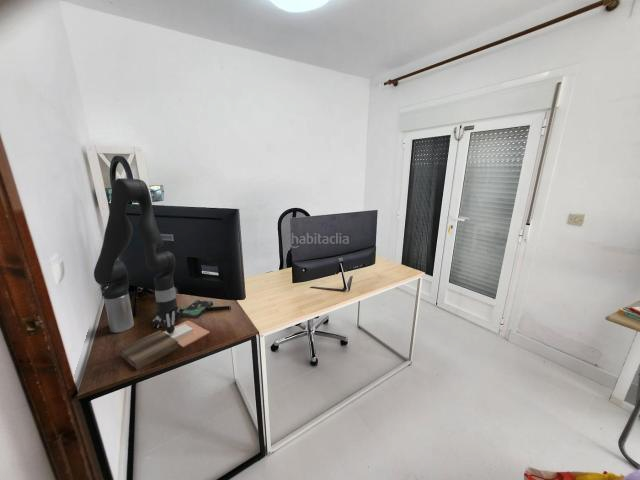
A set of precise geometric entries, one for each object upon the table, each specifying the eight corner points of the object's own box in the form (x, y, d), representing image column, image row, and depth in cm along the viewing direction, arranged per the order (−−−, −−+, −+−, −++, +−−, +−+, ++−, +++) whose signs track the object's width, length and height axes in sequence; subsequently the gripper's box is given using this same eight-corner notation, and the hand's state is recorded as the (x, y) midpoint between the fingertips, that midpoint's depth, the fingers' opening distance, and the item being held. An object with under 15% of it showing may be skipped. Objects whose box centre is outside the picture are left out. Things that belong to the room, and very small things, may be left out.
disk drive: (196, 304, 149) (180, 317, 135) (196, 299, 148) (179, 312, 134) (213, 305, 148) (198, 319, 133) (213, 301, 147) (197, 314, 133)
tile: (165, 337, 116) (165, 332, 116) (185, 328, 123) (184, 323, 123) (173, 343, 112) (173, 338, 112) (193, 333, 120) (192, 328, 119)
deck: (120, 355, 105) (119, 348, 104) (161, 335, 118) (160, 330, 118) (137, 370, 97) (136, 363, 97) (178, 347, 110) (178, 341, 110)
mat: (161, 333, 120) (161, 332, 120) (188, 321, 130) (188, 320, 130) (182, 347, 110) (182, 346, 110) (209, 332, 121) (209, 331, 121)
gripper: (176, 289, 117) (180, 323, 122) (145, 300, 107) (150, 337, 111) (185, 293, 113) (189, 328, 118) (153, 305, 103) (159, 343, 107)
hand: (170, 332), depth 114 cm, fingers closed
